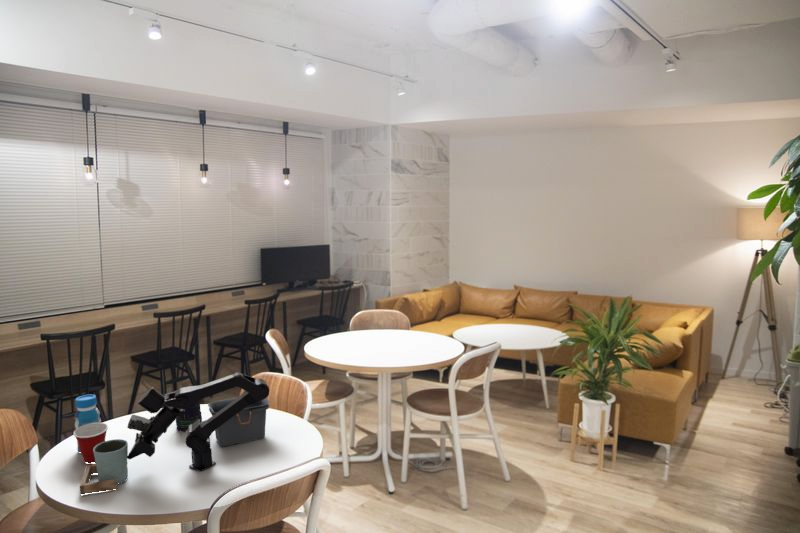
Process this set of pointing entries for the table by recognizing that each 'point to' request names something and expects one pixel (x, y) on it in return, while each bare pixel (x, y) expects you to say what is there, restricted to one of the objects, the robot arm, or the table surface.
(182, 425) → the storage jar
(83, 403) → the beverage bottle
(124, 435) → the table surface
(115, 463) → the green plant pot
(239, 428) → the storage bin
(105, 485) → the walnut bay
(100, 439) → the plastic cup
